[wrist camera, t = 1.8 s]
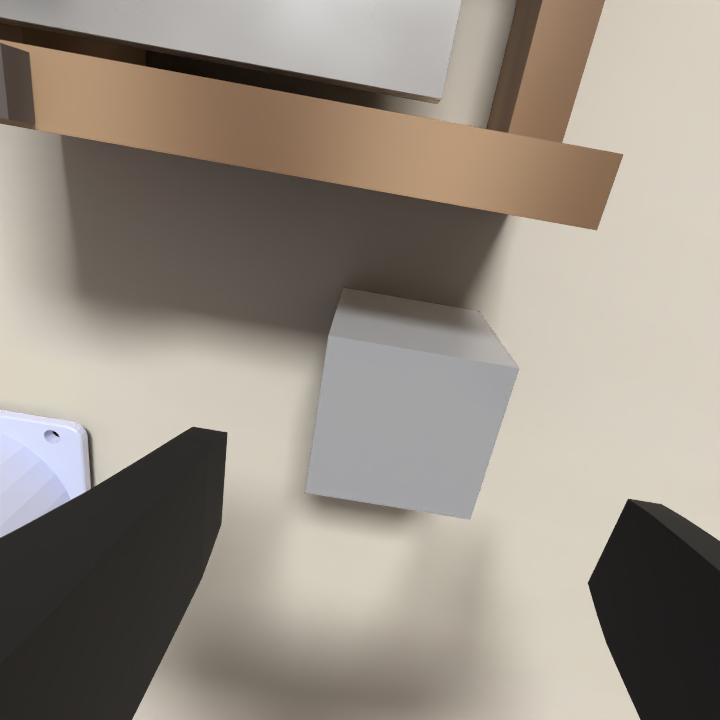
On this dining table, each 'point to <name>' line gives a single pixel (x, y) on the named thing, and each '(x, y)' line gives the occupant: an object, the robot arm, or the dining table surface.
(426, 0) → the trapdoor
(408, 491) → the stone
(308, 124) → the frame
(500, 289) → the dining table surface
